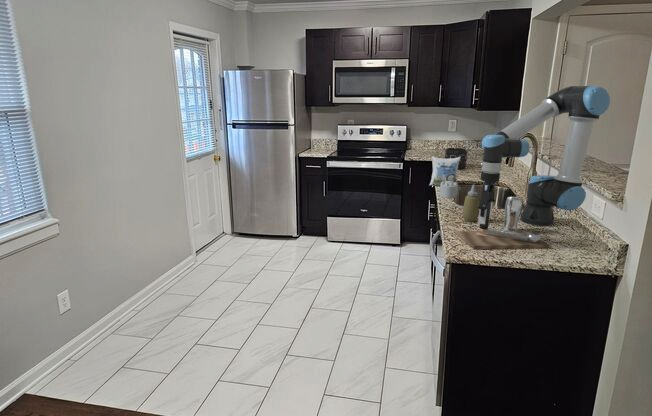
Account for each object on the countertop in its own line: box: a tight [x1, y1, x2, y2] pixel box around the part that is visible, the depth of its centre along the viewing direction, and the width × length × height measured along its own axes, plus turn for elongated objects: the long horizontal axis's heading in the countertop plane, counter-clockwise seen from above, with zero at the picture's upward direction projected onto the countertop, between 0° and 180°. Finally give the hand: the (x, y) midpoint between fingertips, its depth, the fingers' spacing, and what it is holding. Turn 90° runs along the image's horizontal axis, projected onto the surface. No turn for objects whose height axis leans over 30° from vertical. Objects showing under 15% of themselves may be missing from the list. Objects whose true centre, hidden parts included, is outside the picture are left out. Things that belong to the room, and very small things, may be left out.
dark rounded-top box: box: [444, 147, 469, 171], centre depth 345 cm, size 18×18×16 cm
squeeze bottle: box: [462, 184, 481, 223], centre depth 206 cm, size 8×8×18 cm
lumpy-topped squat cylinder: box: [439, 181, 459, 199], centre depth 255 cm, size 10×13×9 cm
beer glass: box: [503, 196, 524, 231], centre depth 193 cm, size 7×7×15 cm
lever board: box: [456, 229, 550, 250], centre depth 181 cm, size 32×20×2 cm, turn 95°
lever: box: [478, 201, 542, 243], centre depth 178 cm, size 24×5×14 cm, turn 59°
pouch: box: [428, 156, 461, 186], centre depth 279 cm, size 8×19×20 cm, turn 86°
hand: (484, 219), depth 184 cm, fingers open, 13 cm apart
